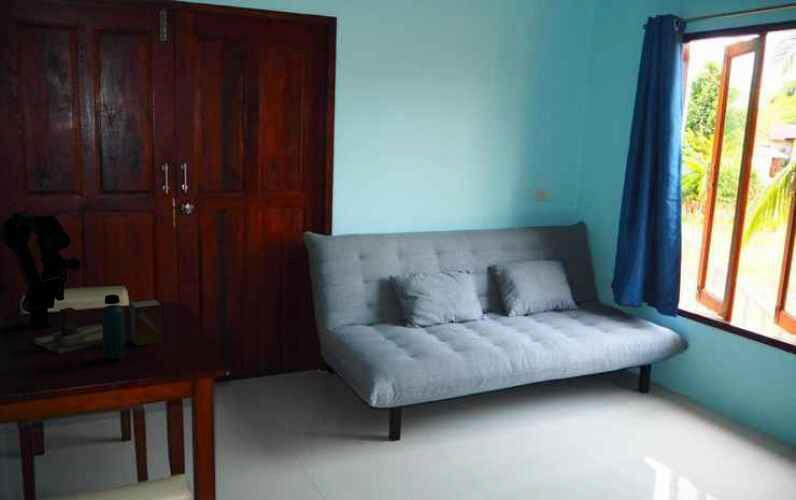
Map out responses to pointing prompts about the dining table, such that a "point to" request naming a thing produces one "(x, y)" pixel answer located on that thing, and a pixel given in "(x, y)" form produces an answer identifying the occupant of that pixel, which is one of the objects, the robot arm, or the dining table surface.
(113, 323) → the beverage bottle
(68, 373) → the dining table surface
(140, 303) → the small box
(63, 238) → the robot arm
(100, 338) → the board
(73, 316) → the block
